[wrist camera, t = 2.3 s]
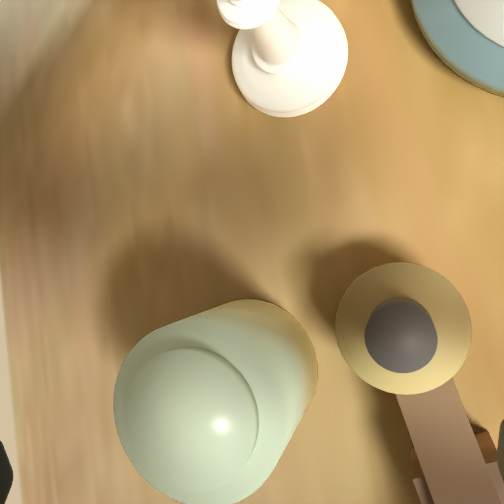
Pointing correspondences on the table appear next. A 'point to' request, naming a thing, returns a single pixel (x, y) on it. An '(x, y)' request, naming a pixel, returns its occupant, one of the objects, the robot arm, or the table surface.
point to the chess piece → (285, 53)
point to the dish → (466, 38)
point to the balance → (421, 375)
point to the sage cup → (215, 400)
